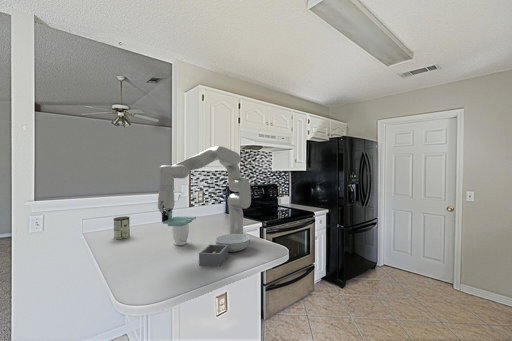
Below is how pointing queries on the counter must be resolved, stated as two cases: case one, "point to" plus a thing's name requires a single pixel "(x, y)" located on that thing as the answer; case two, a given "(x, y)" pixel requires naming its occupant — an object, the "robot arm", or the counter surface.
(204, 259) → the tub
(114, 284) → the counter surface
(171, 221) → the lid
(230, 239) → the serving bowl
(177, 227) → the jar
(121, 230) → the coffee can
